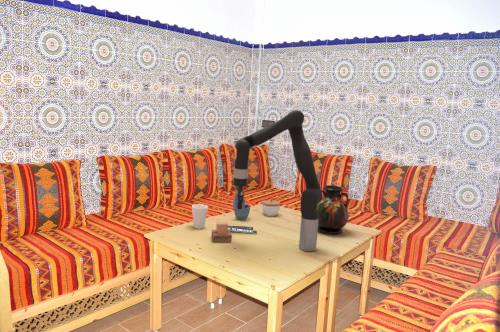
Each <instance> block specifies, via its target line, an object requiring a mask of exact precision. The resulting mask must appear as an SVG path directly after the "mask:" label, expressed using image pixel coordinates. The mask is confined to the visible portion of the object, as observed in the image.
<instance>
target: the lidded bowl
mask: <svg viewBox="0 0 500 332" xmlns="http://www.w3.org/2000/svg"><path fill="white" fill-rule="evenodd" d="M261 206H262V207H261V208H262V212H263V214H264V215H265V216H267V217H275V216H276V215H277V214H279V212H280V208H281V202H280V201H278V200H275V199H274V200H273V199H265V200H262V202H261Z"/></svg>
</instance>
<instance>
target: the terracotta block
mask: <svg viewBox="0 0 500 332" xmlns="http://www.w3.org/2000/svg"><path fill="white" fill-rule="evenodd" d="M215 225H216V229H215V230H216V232H217V234H227V229H228V226H229V225H228V222H227V221H223V220H221V221H219V220H218V221H216V224H215Z"/></svg>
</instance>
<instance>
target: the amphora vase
mask: <svg viewBox="0 0 500 332" xmlns="http://www.w3.org/2000/svg"><path fill="white" fill-rule="evenodd" d="M344 190H345V187H342V186H338V185H330V184H329V185H328V184H327V185H323V186H322V189H321V191H322V194H323V197H322V200H321V202H320V203H318V204H317V212H318V213H319V221H318V232H319V233H321V234H325V235H329V236H330V235H332V236H335V235H337V236H338V235H341V234H343V232H344V227H346V225H347V224H348V222H349V218H350V214H349V209H348V207H349V195H348V193H346V192H344ZM342 196H345V197H346V201H345V202H344V200H343V199H342Z"/></svg>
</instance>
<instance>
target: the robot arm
mask: <svg viewBox="0 0 500 332" xmlns="http://www.w3.org/2000/svg"><path fill="white" fill-rule="evenodd" d="M304 122H305V114H304V113H303V112H302V111H301V110H297V109H294V110H291V111H290V112H288V114H286V115H285V116H283V117H282V118H281V119H279V120H276V122H273V123H271V124H270V125H269V124H268V125H267V126H265V127H263V128H261V129H258V130H257V131H254V132H253V133H252V134H249V135H247V136H244V137H242V138H240V139H238V140H237V141H236V142H235V144H234V148H235V150H236V154H235V155H236V157H235V159H234V169H233V170H234V171H233V179H232V185H233V186H234V187H235V195H234V197H237V198H238V209H242V202H243V199H245V197H244V195H245V189H244V187H245V188H246V187H247V186H248V177H249V176H248V173H249V169H248V168H249V156H250V150H251V149H252V148H253V147H258V146H260V145H262V144H264V143H266V142H268V141H271V139H274V137H276V136H278V135H280V134H281V133H282V132H285V131H288V133H289V137H290V140H291V145H292V153H293V157H294V160H295V165H296V167H297V170H298V171H299V173H300V174H301V176H302V177H303V180H304V183H305V190H303V191H302V192H301V196H300V214H301V218H300V227H299V228H300V231H299V243H298V248H299V249H300V250H302V251H304V252H316V251H317V245H318V243H317V241H318V232H319V231H318V221H319V213H318V212H317V204H318V203H320V202H321V200H322V198H323V197H324V194H323V192H322V191H321V190H322V188H321V186H320V182H319V180H318V177H317V172H316V168H315V164H314V159H313V156H312V155H313V154H312V151H311V148H310V145H309V143H308V142H307V139H306V137H305V135H304V127H303V124H304ZM240 198H241V200H240Z"/></svg>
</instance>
